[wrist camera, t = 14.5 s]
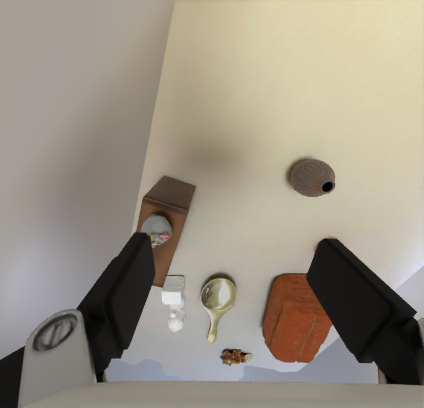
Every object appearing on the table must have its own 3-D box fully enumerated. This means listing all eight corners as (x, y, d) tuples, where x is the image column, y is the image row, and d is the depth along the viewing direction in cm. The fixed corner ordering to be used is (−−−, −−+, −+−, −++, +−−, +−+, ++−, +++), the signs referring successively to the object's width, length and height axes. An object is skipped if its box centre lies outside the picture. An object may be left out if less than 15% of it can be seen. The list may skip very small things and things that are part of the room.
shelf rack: (148, 240, 43) (126, 279, 32) (164, 175, 36) (142, 197, 25) (175, 247, 44) (162, 287, 33) (195, 186, 37) (188, 211, 26)
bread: (258, 328, 59) (267, 368, 49) (271, 272, 48) (287, 309, 38) (302, 329, 59) (320, 369, 49) (326, 273, 48) (355, 310, 38)
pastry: (249, 359, 68) (251, 371, 64) (219, 357, 67) (220, 369, 64) (253, 350, 65) (255, 362, 61) (223, 347, 64) (223, 359, 61)
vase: (324, 175, 36) (356, 189, 28) (295, 194, 38) (317, 213, 30) (309, 149, 34) (339, 156, 26) (279, 171, 35) (298, 184, 27)
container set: (165, 274, 48) (160, 291, 43) (184, 275, 48) (181, 292, 43) (170, 318, 56) (166, 336, 51) (186, 318, 56) (183, 337, 51)
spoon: (224, 337, 64) (225, 343, 62) (196, 335, 63) (196, 342, 61) (240, 274, 47) (241, 281, 45) (202, 272, 47) (202, 278, 45)
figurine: (148, 207, 26) (131, 229, 20) (177, 214, 26) (168, 237, 21) (144, 234, 28) (128, 261, 22) (171, 241, 28) (161, 268, 23)
